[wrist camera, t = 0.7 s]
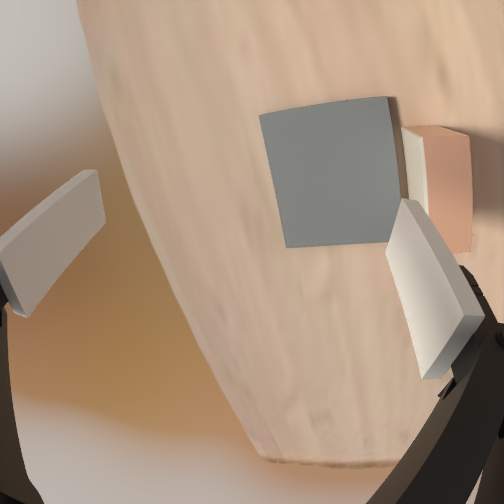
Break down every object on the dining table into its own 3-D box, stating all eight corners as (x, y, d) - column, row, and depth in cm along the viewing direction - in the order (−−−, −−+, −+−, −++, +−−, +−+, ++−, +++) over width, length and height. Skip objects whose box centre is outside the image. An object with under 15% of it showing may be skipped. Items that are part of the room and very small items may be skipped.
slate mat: (386, 96, 28) (386, 96, 28) (402, 238, 34) (403, 240, 34) (260, 115, 34) (258, 115, 33) (287, 245, 40) (286, 248, 39)
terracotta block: (435, 125, 28) (469, 135, 18) (442, 206, 31) (471, 252, 21) (401, 127, 29) (418, 137, 19) (409, 208, 33) (425, 254, 23)
